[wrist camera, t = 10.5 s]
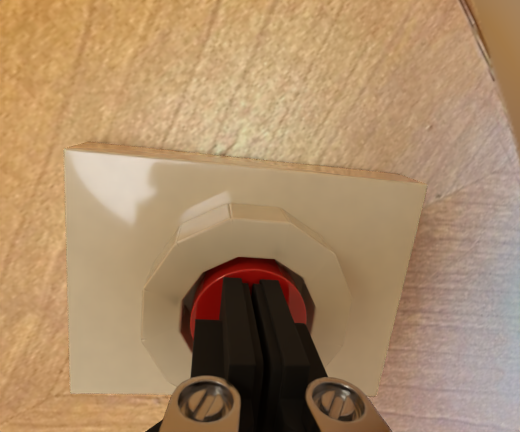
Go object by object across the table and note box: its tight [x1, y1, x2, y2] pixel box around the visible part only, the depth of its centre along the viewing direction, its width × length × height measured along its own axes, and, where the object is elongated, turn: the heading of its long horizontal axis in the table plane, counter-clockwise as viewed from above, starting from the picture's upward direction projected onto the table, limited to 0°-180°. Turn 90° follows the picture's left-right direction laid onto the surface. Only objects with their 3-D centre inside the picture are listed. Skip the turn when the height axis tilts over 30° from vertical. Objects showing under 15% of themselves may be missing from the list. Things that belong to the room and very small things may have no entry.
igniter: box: [64, 142, 428, 397], centre depth 13 cm, size 12×9×4 cm
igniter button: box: [190, 257, 307, 341], centre depth 12 cm, size 4×4×2 cm
